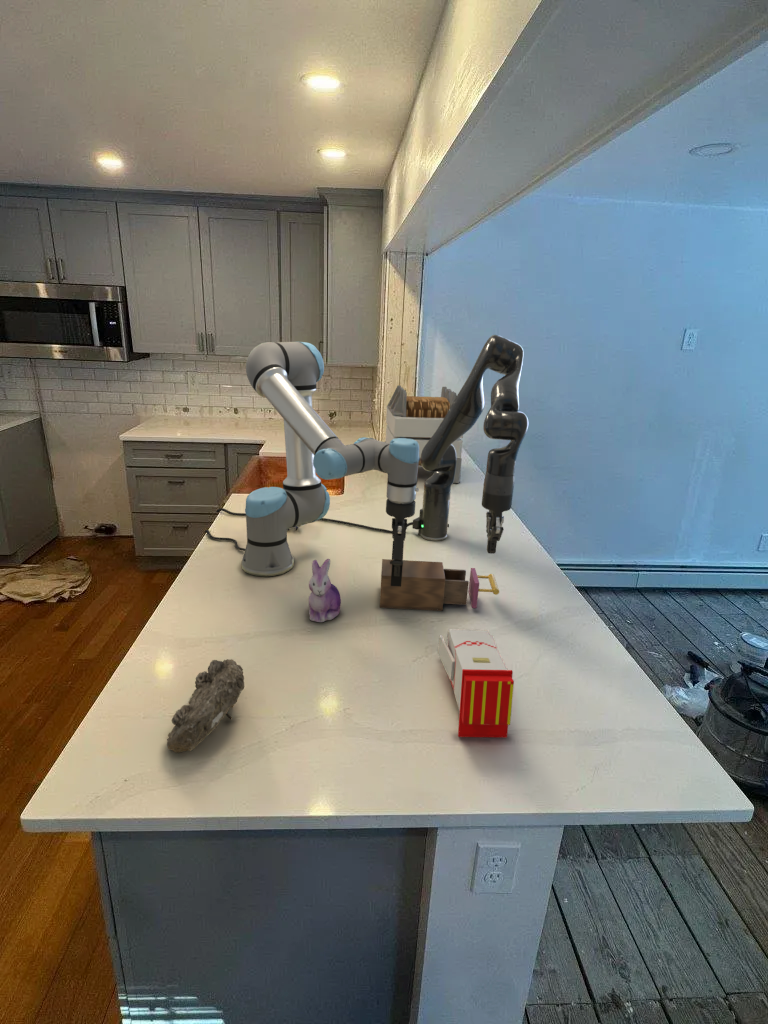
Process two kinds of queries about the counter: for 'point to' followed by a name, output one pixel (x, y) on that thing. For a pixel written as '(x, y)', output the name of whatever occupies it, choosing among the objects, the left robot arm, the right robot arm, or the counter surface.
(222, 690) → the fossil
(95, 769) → the counter surface
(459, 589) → the drawer
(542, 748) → the counter surface
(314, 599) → the figurine
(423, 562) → the cabinet
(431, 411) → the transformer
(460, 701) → the toy
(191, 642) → the counter surface
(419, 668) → the counter surface
